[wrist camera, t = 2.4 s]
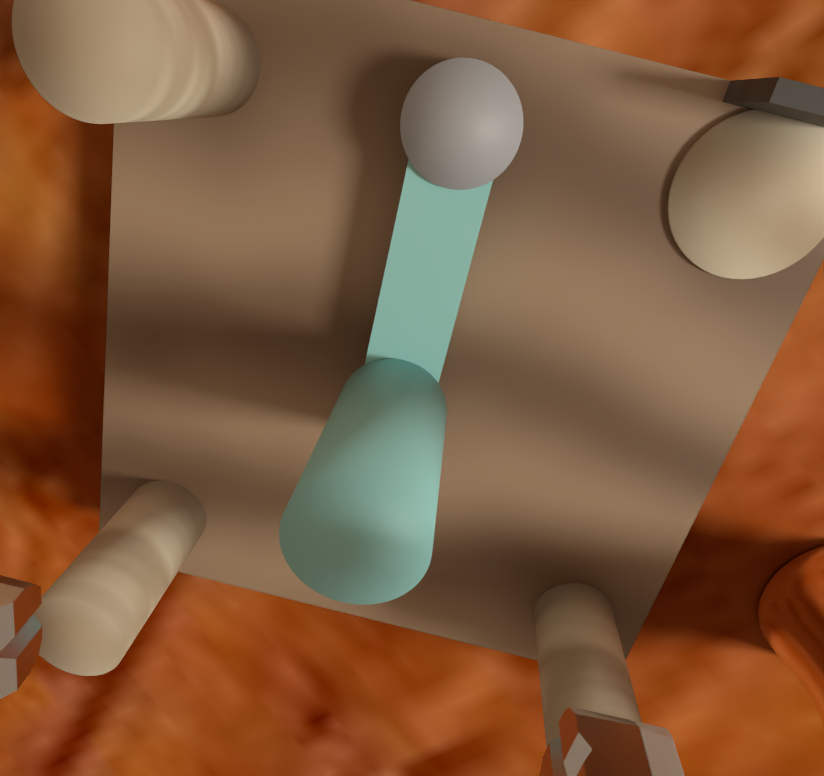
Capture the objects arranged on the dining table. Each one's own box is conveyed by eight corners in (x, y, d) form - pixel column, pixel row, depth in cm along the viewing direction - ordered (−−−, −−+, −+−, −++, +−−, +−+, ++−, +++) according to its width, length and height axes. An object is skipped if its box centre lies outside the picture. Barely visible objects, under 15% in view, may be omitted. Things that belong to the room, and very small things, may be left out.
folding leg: (415, 46, 17) (369, 9, 10) (539, 77, 17) (580, 62, 10) (337, 427, 21) (269, 584, 14) (434, 451, 21) (412, 619, 14)
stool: (604, 631, 27) (653, 843, 19) (130, 513, 27) (-10, 680, 19) (842, 118, 19) (1092, 132, 11) (164, -52, 19) (-56, -158, 11)
